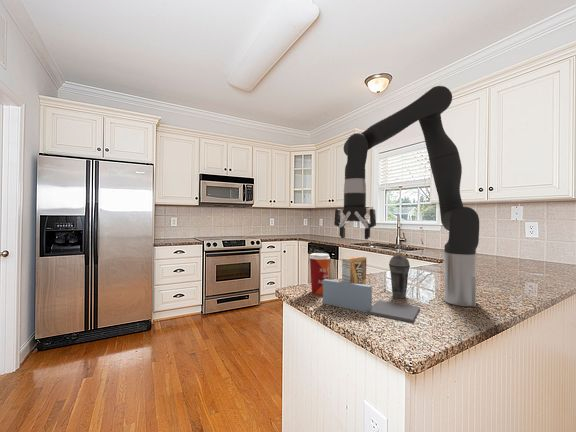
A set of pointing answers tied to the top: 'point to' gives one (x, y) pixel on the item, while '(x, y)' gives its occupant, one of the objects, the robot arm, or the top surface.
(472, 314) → the top surface
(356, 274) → the candy box
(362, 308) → the screen
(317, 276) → the coffee cup
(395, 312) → the mat
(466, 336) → the top surface
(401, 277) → the beverage cup
